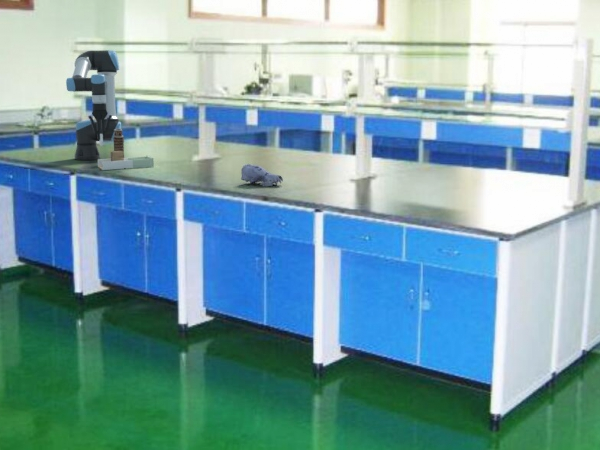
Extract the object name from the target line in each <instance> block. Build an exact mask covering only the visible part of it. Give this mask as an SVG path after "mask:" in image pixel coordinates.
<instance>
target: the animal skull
mask: <svg viewBox="0 0 600 450" xmlns="http://www.w3.org/2000/svg"><path fill="white" fill-rule="evenodd" d="M240 173H241V178H240V180H241V181H245V182H246V183H248V182H249V183H250V184H257V183H259V182H260V184H261V185H262V187H273V185H275V186H276V187H278V183H280V184H282V182H284V179H283V177H282V176H281V175H278V174H273V173H271V172H270V171H267V169H265V168H264V167H262V166H260V165H255V164H249V163H247V164H245V165H243V166H242V168H241V172H240Z"/></svg>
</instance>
